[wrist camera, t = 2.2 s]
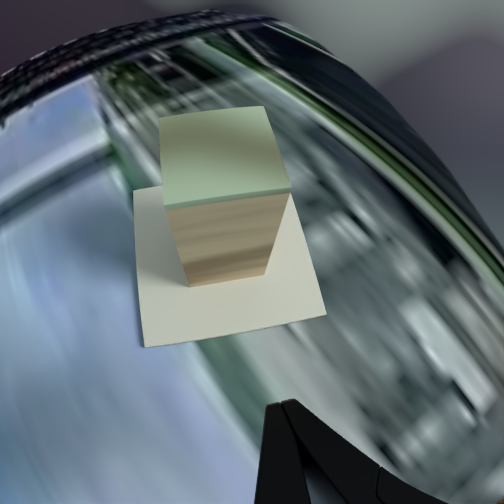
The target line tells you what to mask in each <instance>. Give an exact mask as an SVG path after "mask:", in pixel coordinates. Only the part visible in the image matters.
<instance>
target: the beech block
mask: <svg viewBox="0 0 504 504" xmlns="http://www.w3.org/2000/svg"><path fill="white" fill-rule="evenodd" d="M159 136H160V158H161V176H162V190H163V204H164V208H165V212H166V215H167V218H168V222H169V225H170V228H171V231H172V235H173V238H174V241H175V244H176V247H177V250H178V253H179V257H180V260H181V263H182V266H183V269H184V272H185V275H186V278H187V281H188V284H189V287H196V286H202V285H208V284H214V283H220V282H226V281H232V280H238V279H244V278H249V277H255V276H261V275H264V274H265V271H266V268H267V265H268V261H269V258H270V255H271V252H272V249H273V246H274V243H275V240H276V236H277V233H278V230H279V227H280V224H281V221H282V217H283V214H284V211H285V208H286V205H287V202H288V198H289V195H290V192H291V189H292V186H291V183H290V180H289V177H288V174H287V171H286V168H285V165H284V162H283V159H282V157H281V154H280V151H279V148H278V145H277V142H276V140H275V137H274V134H273V131H272V128H271V126H270V123H269V120H268V117H267V115H266V112H265V109H264V107H263V106H254V107H242V108H230V109H220V110H211V111H203V112H195V113H188V114H181V115H174V116H168V117H162V118H159Z"/></svg>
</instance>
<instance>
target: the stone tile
mask: <svg viewBox="0 0 504 504" xmlns="http://www.w3.org/2000/svg"><path fill="white" fill-rule="evenodd" d="M133 205H134V235H135V253H136V268H137V281H138V292H139V303H140V312H141V321H142V329H143V337H144V344H145V348H151V347H159V346H166V345H173V344H180V343H186V342H193V341H199V340H205V339H211V338H217V337H223V336H229V335H234V334H240V333H245V332H250V331H255V330H261V329H266V328H271V327H275V326H280V325H285V324H290V323H294V322H299V321H303V320H308V319H312V318H317V317H321V316H325V315H326V310H325V306H324V303H323V299H322V296H321V292H320V288H319V285H318V281H317V278H316V274H315V271H314V268H313V264H312V261H311V257H310V254H309V251H308V247H307V244H306V241H305V237H304V234H303V231H302V228H301V224H300V221H299V218H298V215H297V211H296V208H295V205H294V202H293V199H292V196H291V193H290V195H289V198H288V202H287V205H286V208H285V211H284V214H283V217H282V221H281V224H280V227H279V230H278V233H277V236H276V240H275V243H274V246H273V249H272V252H271V255H270V258H269V261H268V265H267V268H266V271H265V274H264V275H261V276H255V277H249V278H244V279H238V280H232V281H226V282H220V283H214V284H208V285H202V286H196V287H189V284H188V281H187V278H186V275H185V272H184V269H183V266H182V263H181V260H180V257H179V253H178V250H177V247H176V244H175V241H174V238H173V235H172V231H171V228H170V225H169V222H168V218H167V215H166V212H165V208H164V204H163V190H162V186H156V187H150V188H145V189H139V190H134V191H133Z"/></svg>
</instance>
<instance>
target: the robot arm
mask: <svg viewBox="0 0 504 504" xmlns="http://www.w3.org/2000/svg"><path fill="white" fill-rule="evenodd" d="M311 502H312V504H448V503H446V502H443V501H441V500H439V499H437V498H435V497H433V496H431V495H428V494H426V493H424V492H422V491H420V490H418V489H416V488H414V487H413V486H411V485H409V484H407V483H405V482H404V481H402V480H401V479H399V478H397V477H396V476H394V475H393V474H391V473H390V472H389V471H387V470H386V469H384V468H383V467H380V465H379V464H377V463H376V462H375V461H373V460H372V459H371V458H369V457H368V456H366V455H365V454H364V453H362V452H361V451H360V450H358V449H357V448H356V447H355V446H353V445H352V444H351V443H349V442H348V441H347V440H345V439H344V438H343V437H342V436H340V435H339V434H338V433H337V432H335V431H334V430H333V429H331V428H330V427H329V426H328V425H326V424H325V423H324V422H323V421H322V420H320V419H319V418H318V417H317V416H315V415H314V414H313V413H312V412H311V411H309V410H308V409H307V408H306V407H304V406H303V405H302V404H301V403H300V402H299V401H297V400H296V399H288V400H284V401H282V402H281V403H279V402H276V403H271V404H267V405H266V407H265V416H264V425H263V434H262V443H261V451H260V460H259V468H258V476H257V484H256V492H255V499H254V504H311Z"/></svg>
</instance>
